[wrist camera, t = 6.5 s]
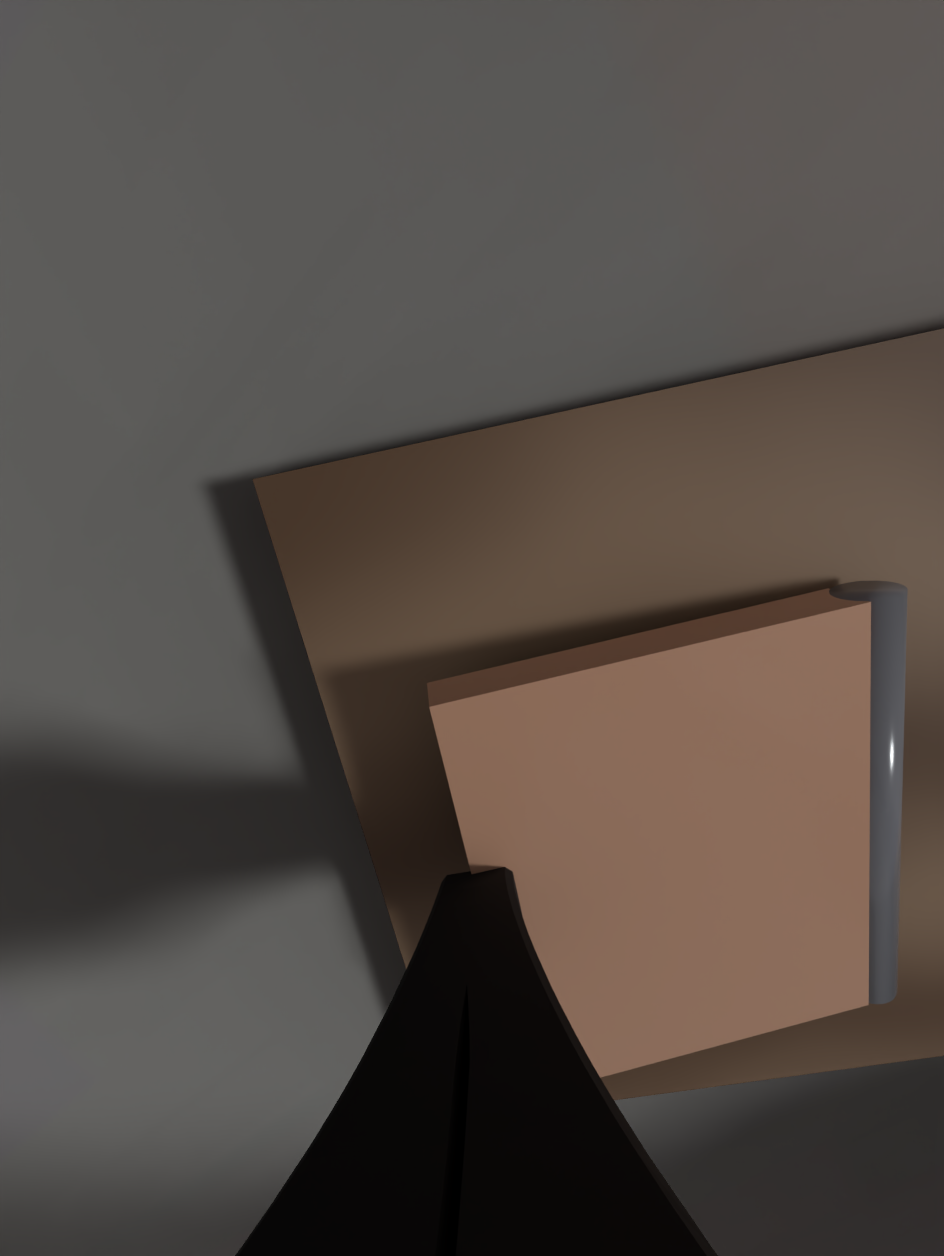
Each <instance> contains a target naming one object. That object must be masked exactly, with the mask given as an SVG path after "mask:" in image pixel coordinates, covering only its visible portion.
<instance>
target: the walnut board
mask: <svg viewBox="0 0 944 1256" xmlns="http://www.w3.org/2000/svg"><path fill="white" fill-rule="evenodd" d="M253 482H254V486H255V489H256V492H257V495H258V498H259V502H260V505H261V508H262V511H263V514H264V517H265V521H266V524H267V527H268V530H269V533H270V537H271V540H272V543H273V546H274V549H275V552H276V556H277V559H278V562H279V565H280V568H281V572H282V575H283V578H284V581H285V584H286V588H287V591H288V594H289V597H290V600H291V603H292V607H293V610H294V613H295V616H296V619H297V623H298V626H299V629H300V632H301V635H302V639H303V642H304V645H305V648H306V651H307V654H308V658H309V661H310V664H311V667H312V670H313V674H314V677H315V680H316V683H317V686H318V689H319V693H320V696H321V699H322V702H323V705H324V709H325V712H326V715H327V718H328V721H329V725H330V728H331V731H332V734H333V737H334V740H335V744H336V747H337V750H338V753H339V756H340V760H341V763H342V766H343V769H344V772H345V775H346V779H347V782H348V785H349V788H350V791H351V795H352V798H353V801H354V804H355V807H356V811H357V814H358V817H359V820H360V823H361V826H362V830H363V833H364V836H365V839H366V842H367V846H368V849H369V852H370V855H371V858H372V862H373V865H374V868H375V871H376V874H377V877H378V881H379V884H380V887H381V890H382V893H383V897H384V900H385V903H386V906H387V909H388V912H389V916H390V919H391V922H392V925H393V928H394V932H395V935H396V938H397V941H398V944H399V948H400V951H401V954H402V957H403V960H404V963H405V967H406V969H407V967H408V964H409V962H410V960H411V958H412V956H413V953H414V951H415V949H416V947H417V944H418V942H419V939H420V937H421V935H422V932H423V930H424V928H425V925H426V923H427V920H428V918H429V915H430V912H431V910H432V907H433V905H434V902H435V899H436V896H437V894H438V891H439V888H440V885H441V882H442V881H443V879H444V878H445V877H446V876H447V875H450V874H456V873H462V872H468V871H470V867H469V863H468V859H467V855H466V851H465V847H464V843H463V839H462V835H461V831H460V827H459V823H458V819H457V815H456V811H455V807H454V803H453V799H452V795H451V791H450V787H449V783H448V779H447V775H446V771H445V767H444V764H443V760H442V756H441V752H440V748H439V744H438V740H437V736H436V732H435V728H434V724H433V720H432V716H431V712H430V708H429V699H428V689H427V683H429V682H433V681H437V680H442V679H446V678H450V677H454V676H459V675H463V674H467V673H471V672H475V671H480V670H484V669H488V668H492V667H497V666H501V665H505V664H509V663H514V662H518V661H522V660H526V659H531V658H535V657H539V656H543V655H548V654H552V653H556V652H560V651H565V650H569V649H573V648H577V647H581V646H586V645H590V644H594V643H598V642H603V641H607V640H611V639H615V638H620V637H624V636H628V635H632V634H637V633H641V632H645V631H649V630H654V629H658V628H662V627H666V626H671V625H675V624H679V623H683V622H687V621H692V620H696V619H700V618H704V617H709V616H713V615H717V614H721V613H726V612H730V611H734V610H738V609H743V608H747V607H751V606H755V605H760V604H764V603H768V602H772V601H777V600H781V599H785V598H789V597H793V596H798V595H802V594H806V593H810V592H815V591H819V590H823V589H827V588H829V589H831V588H833V587H834V586H837V585H840V584H844V583H848V582H855V581H889V582H895V583H899V584H902V585H904V586H906V587H907V589H908V595H907V634H906V673H905V711H904V750H903V789H902V827H901V866H900V904H899V943H898V982H897V995H896V997H895V998H894V999H893V1000H892V1001H890V1002H888V1003H885V1004H871V1003H869V1005H867V1006H863V1007H859V1008H856V1009H852V1010H848V1011H844V1012H841V1013H837V1014H833V1015H830V1016H826V1017H822V1018H819V1019H815V1020H811V1021H808V1022H804V1023H800V1024H796V1025H793V1026H789V1027H785V1028H782V1029H778V1030H774V1031H771V1032H767V1033H763V1034H760V1035H756V1036H752V1037H749V1038H745V1039H741V1040H737V1041H734V1042H730V1043H726V1044H723V1045H719V1046H715V1047H712V1048H708V1049H704V1050H701V1051H697V1052H693V1053H689V1054H686V1055H682V1056H678V1057H675V1058H671V1059H667V1060H664V1061H660V1062H656V1063H653V1064H649V1065H645V1066H641V1067H638V1068H634V1069H630V1070H627V1071H623V1072H619V1073H616V1074H612V1075H608V1076H605V1077H601V1080H602V1081H603V1083H604V1085H605V1086H606V1088H607V1090H608V1091H609V1093H610V1095H611V1096H612V1098H613V1100H619V1099H626V1098H634V1097H641V1096H649V1095H656V1094H664V1093H671V1092H678V1091H686V1090H693V1089H701V1088H708V1087H716V1086H723V1085H730V1084H738V1083H745V1082H753V1081H760V1080H768V1079H775V1078H783V1077H790V1076H797V1075H805V1074H812V1073H820V1072H827V1071H835V1070H842V1069H849V1068H857V1067H864V1066H872V1065H879V1064H887V1063H894V1062H901V1061H909V1060H916V1059H924V1058H931V1057H939V1056H944V328H943V329H939V330H934V331H930V332H925V333H920V334H916V335H911V336H907V337H902V338H898V339H893V340H888V341H884V342H879V343H875V344H870V345H865V346H861V347H856V348H852V349H847V350H843V351H838V352H833V353H829V354H824V355H820V356H815V357H810V358H806V359H801V360H797V361H792V362H788V363H783V364H778V365H774V366H769V367H765V368H760V369H755V370H751V371H746V372H742V373H737V374H733V375H728V376H723V377H719V378H714V379H710V380H705V381H700V382H696V383H691V384H687V385H682V386H678V387H673V388H668V389H664V390H659V391H655V392H650V393H645V394H641V395H636V396H632V397H627V398H623V399H618V400H613V401H609V402H604V403H600V404H595V405H590V406H586V407H581V408H577V409H572V410H568V411H563V412H558V413H554V414H549V415H545V416H540V417H535V418H531V419H526V420H522V421H517V422H512V423H508V424H503V425H499V426H494V427H490V428H485V429H480V430H476V431H471V432H467V433H462V434H457V435H453V436H448V437H444V438H439V439H435V440H430V441H425V442H421V443H416V444H412V445H407V446H402V447H398V448H393V449H389V450H384V451H380V452H375V453H370V454H366V455H361V456H357V457H352V458H347V459H343V460H338V461H334V462H329V463H325V464H320V465H315V466H311V467H306V468H302V469H297V470H292V471H288V472H283V473H279V474H274V475H270V476H265V477H260V478H256V479H253Z"/></svg>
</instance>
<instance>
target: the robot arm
mask: <svg viewBox="0 0 944 1256" xmlns="http://www.w3.org/2000/svg"><path fill="white" fill-rule="evenodd" d="M235 1256H718V1255H717V1254H716V1253H715V1251H714V1250H713V1249H712V1247H711V1246H710V1244H709V1243H708V1241H707V1240H706V1238H705V1237H704V1235H703V1234H702V1233H701V1231H700V1230H699V1228H698V1227H697V1225H696V1224H695V1222H694V1221H693V1220H692V1218H691V1217H690V1215H689V1214H688V1212H687V1211H686V1209H685V1208H684V1206H683V1205H682V1204H681V1202H680V1201H679V1199H678V1198H677V1196H676V1195H675V1193H674V1192H673V1190H672V1189H671V1188H670V1186H669V1185H668V1183H667V1182H666V1180H665V1179H664V1177H663V1176H662V1174H661V1173H660V1172H659V1170H658V1169H657V1167H656V1166H655V1164H654V1163H653V1161H652V1160H651V1158H650V1157H649V1155H648V1154H647V1152H646V1151H645V1149H644V1148H643V1146H642V1144H641V1143H640V1141H639V1140H638V1138H637V1137H636V1135H635V1133H634V1132H633V1130H632V1129H631V1127H630V1125H629V1124H628V1122H627V1121H626V1119H625V1118H624V1116H623V1114H622V1113H621V1111H620V1110H619V1108H618V1106H617V1105H616V1103H615V1101H614V1100H613V1098H612V1096H611V1095H610V1093H609V1091H608V1090H607V1088H606V1086H605V1085H604V1083H603V1081H602V1080H601V1078H600V1076H599V1075H598V1073H597V1071H596V1070H595V1068H594V1066H593V1064H592V1063H591V1061H590V1059H589V1057H588V1056H587V1054H586V1052H585V1050H584V1048H583V1046H582V1045H581V1043H580V1041H579V1039H578V1037H577V1036H576V1034H575V1032H574V1030H573V1028H572V1026H571V1024H570V1022H569V1020H568V1018H567V1016H566V1014H565V1013H564V1011H563V1009H562V1007H561V1005H560V1003H559V1001H558V999H557V997H556V995H555V993H554V991H553V989H552V986H551V984H550V982H549V980H548V978H547V976H546V973H545V971H544V969H543V967H542V964H541V962H540V960H539V958H538V955H537V953H536V951H535V949H534V946H533V944H532V941H531V939H530V936H529V934H528V931H527V928H526V925H525V922H524V919H523V916H522V911H521V907H520V902H519V898H518V893H517V889H516V884H515V880H514V875H513V871H511V870H509V869H508V868H506V867H502V868H497V869H493V870H488V871H484V872H479V873H475V874H471V871H468V872H462V873H456V874H450V875H447V876H446V877H445V878H444V879H443V881H442V882H441V885H440V888H439V891H438V894H437V896H436V899H435V902H434V905H433V907H432V910H431V912H430V915H429V918H428V920H427V923H426V925H425V928H424V930H423V932H422V935H421V937H420V939H419V942H418V944H417V947H416V949H415V951H414V953H413V956H412V958H411V960H410V962H409V964H408V967H407V969H406V971H405V973H404V975H403V977H402V980H401V982H400V984H399V986H398V988H397V991H396V993H395V995H394V997H393V999H392V1001H391V1003H390V1005H389V1007H388V1009H387V1011H386V1013H385V1015H384V1017H383V1019H382V1021H381V1022H380V1024H379V1026H378V1028H377V1030H376V1032H375V1034H374V1036H373V1038H372V1040H371V1042H370V1044H369V1045H368V1047H367V1049H366V1051H365V1053H364V1055H363V1057H362V1059H361V1061H360V1063H359V1064H358V1066H357V1068H356V1070H355V1071H354V1073H353V1075H352V1077H351V1079H350V1080H349V1082H348V1084H347V1086H346V1087H345V1089H344V1091H343V1092H342V1094H341V1096H340V1098H339V1099H338V1101H337V1103H336V1104H335V1106H334V1108H333V1109H332V1111H331V1113H330V1114H329V1116H328V1118H327V1119H326V1121H325V1122H324V1124H323V1126H322V1127H321V1129H320V1131H319V1132H318V1134H317V1135H316V1137H315V1139H314V1140H313V1142H312V1143H311V1145H310V1147H309V1148H308V1150H307V1151H306V1153H305V1154H304V1156H303V1157H302V1159H301V1160H300V1162H299V1163H298V1165H297V1166H296V1168H295V1169H294V1171H293V1172H292V1174H291V1175H290V1177H289V1178H288V1180H287V1181H286V1183H285V1185H284V1186H283V1188H282V1189H281V1191H280V1192H279V1194H278V1195H277V1197H276V1198H275V1200H274V1201H273V1203H272V1204H271V1206H270V1207H269V1209H268V1210H267V1211H266V1213H265V1214H264V1216H263V1217H262V1219H261V1220H260V1222H259V1223H258V1224H257V1226H256V1227H255V1229H254V1230H253V1232H252V1233H251V1234H250V1236H249V1237H248V1239H247V1240H246V1241H245V1243H244V1244H243V1246H242V1247H241V1248H240V1250H239V1251H238V1253H237V1254H236V1255H235Z"/></svg>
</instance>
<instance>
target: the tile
mask: <svg viewBox="0 0 944 1256" xmlns="http://www.w3.org/2000/svg"><path fill="white" fill-rule="evenodd" d="M907 595H908V589H907V587H906V586H904V585H902V584H899V583H895V582H889V581H855V582H848V583H844V584H840V585H837V586H834V587H833V588H831V589H829V588H827V589H823V590H819V591H815V592H810V593H806V594H802V595H798V596H793V597H789V598H785V599H781V600H777V601H772V602H768V603H764V604H760V605H755V606H751V607H747V608H743V609H738V610H734V611H730V612H726V613H721V614H717V615H713V616H709V617H704V618H700V619H696V620H692V621H687V622H683V623H679V624H675V625H671V626H666V627H662V628H658V629H654V630H649V631H645V632H641V633H637V634H632V635H628V636H624V637H620V638H615V639H611V640H607V641H603V642H598V643H594V644H590V645H586V646H581V647H577V648H573V649H569V650H565V651H560V652H556V653H552V654H548V655H543V656H539V657H535V658H531V659H526V660H522V661H518V662H514V663H509V664H505V665H501V666H497V667H492V668H488V669H484V670H480V671H475V672H471V673H467V674H463V675H459V676H454V677H450V678H446V679H442V680H437V681H433V682H429V683H427V689H428V699H429V708H430V712H431V716H432V720H433V724H434V728H435V732H436V736H437V740H438V744H439V748H440V752H441V756H442V760H443V764H444V767H445V771H446V775H447V779H448V783H449V787H450V791H451V795H452V799H453V803H454V807H455V811H456V815H457V819H458V823H459V827H460V831H461V835H462V839H463V843H464V847H465V851H466V855H467V859H468V863H469V867H470V871H471V874H475V873H479V872H484V871H488V870H493V869H497V868H502V867H506V868H508V869H509V870H511V871H513V875H514V880H515V884H516V889H517V893H518V898H519V902H520V907H521V911H522V916H523V919H524V922H525V925H526V928H527V931H528V934H529V936H530V939H531V941H532V944H533V946H534V949H535V951H536V953H537V955H538V958H539V960H540V962H541V964H542V967H543V969H544V971H545V973H546V976H547V978H548V980H549V982H550V984H551V986H552V989H553V991H554V993H555V995H556V997H557V999H558V1001H559V1003H560V1005H561V1007H562V1009H563V1011H564V1013H565V1014H566V1016H567V1018H568V1020H569V1022H570V1024H571V1026H572V1028H573V1030H574V1032H575V1034H576V1036H577V1037H578V1039H579V1041H580V1043H581V1045H582V1046H583V1048H584V1050H585V1052H586V1054H587V1056H588V1057H589V1059H590V1061H591V1063H592V1064H593V1066H594V1068H595V1070H596V1071H597V1073H598V1075H599V1076H600V1078H601V1077H605V1076H608V1075H612V1074H616V1073H619V1072H623V1071H627V1070H630V1069H634V1068H638V1067H641V1066H645V1065H649V1064H653V1063H656V1062H660V1061H664V1060H667V1059H671V1058H675V1057H678V1056H682V1055H686V1054H689V1053H693V1052H697V1051H701V1050H704V1049H708V1048H712V1047H715V1046H719V1045H723V1044H726V1043H730V1042H734V1041H737V1040H741V1039H745V1038H749V1037H752V1036H756V1035H760V1034H763V1033H767V1032H771V1031H774V1030H778V1029H782V1028H785V1027H789V1026H793V1025H796V1024H800V1023H804V1022H808V1021H811V1020H815V1019H819V1018H822V1017H826V1016H830V1015H833V1014H837V1013H841V1012H844V1011H848V1010H852V1009H856V1008H859V1007H863V1006H867V1005H869V1003H871V1004H885V1003H888V1002H890V1001H892V1000H893V999H894V998H895V997H896V995H897V982H898V943H899V904H900V866H901V827H902V789H903V750H904V711H905V673H906V634H907Z"/></svg>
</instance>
